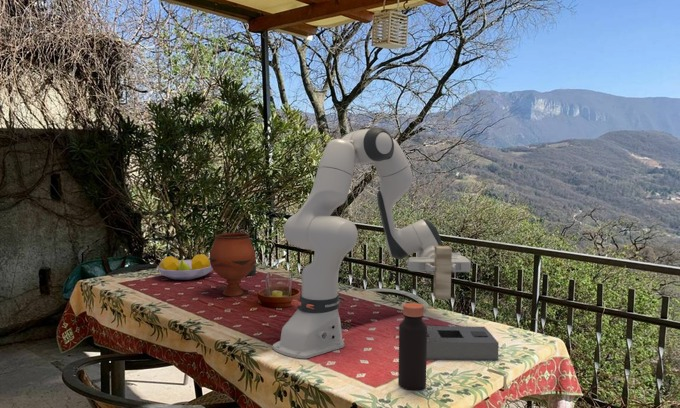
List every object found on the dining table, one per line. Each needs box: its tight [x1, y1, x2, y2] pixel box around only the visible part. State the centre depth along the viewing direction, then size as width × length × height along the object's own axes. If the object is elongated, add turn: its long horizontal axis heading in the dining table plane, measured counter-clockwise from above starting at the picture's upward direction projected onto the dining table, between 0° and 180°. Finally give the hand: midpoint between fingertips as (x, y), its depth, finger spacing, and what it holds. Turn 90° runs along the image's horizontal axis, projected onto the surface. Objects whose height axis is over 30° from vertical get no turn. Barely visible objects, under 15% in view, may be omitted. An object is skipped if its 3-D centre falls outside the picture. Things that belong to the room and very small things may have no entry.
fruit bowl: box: [156, 253, 214, 281], centre depth 239 cm, size 28×27×11 cm
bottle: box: [397, 302, 428, 391], centre depth 123 cm, size 7×7×20 cm
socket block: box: [426, 325, 499, 361], centre depth 147 cm, size 14×24×5 cm, turn 90°
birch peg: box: [432, 245, 453, 300], centre depth 158 cm, size 4×4×16 cm
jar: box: [245, 261, 257, 278], centre depth 246 cm, size 10×10×8 cm
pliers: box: [338, 291, 348, 303], centre depth 209 cm, size 10×1×20 cm
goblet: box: [209, 232, 257, 297], centre depth 210 cm, size 19×19×25 cm
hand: (443, 269), depth 157 cm, fingers closed on birch peg, 4 cm apart
